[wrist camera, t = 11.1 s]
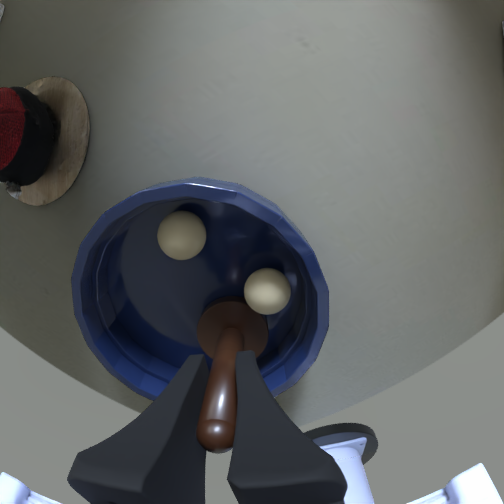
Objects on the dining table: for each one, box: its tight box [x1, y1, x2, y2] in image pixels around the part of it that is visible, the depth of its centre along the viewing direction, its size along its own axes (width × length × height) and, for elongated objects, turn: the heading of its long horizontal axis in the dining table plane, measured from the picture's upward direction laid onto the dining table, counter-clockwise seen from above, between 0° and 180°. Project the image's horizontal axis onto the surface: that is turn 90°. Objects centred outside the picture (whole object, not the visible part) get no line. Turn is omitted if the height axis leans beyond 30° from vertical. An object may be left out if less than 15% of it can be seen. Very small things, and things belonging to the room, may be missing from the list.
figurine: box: [0, 76, 90, 206], centre depth 10 cm, size 8×10×12 cm
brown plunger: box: [196, 296, 269, 453], centre depth 12 cm, size 4×4×10 cm
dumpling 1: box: [157, 211, 206, 260], centre depth 14 cm, size 2×2×2 cm
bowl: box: [71, 177, 329, 401], centre depth 15 cm, size 13×13×4 cm
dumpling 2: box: [244, 268, 291, 315], centre depth 15 cm, size 2×2×2 cm
